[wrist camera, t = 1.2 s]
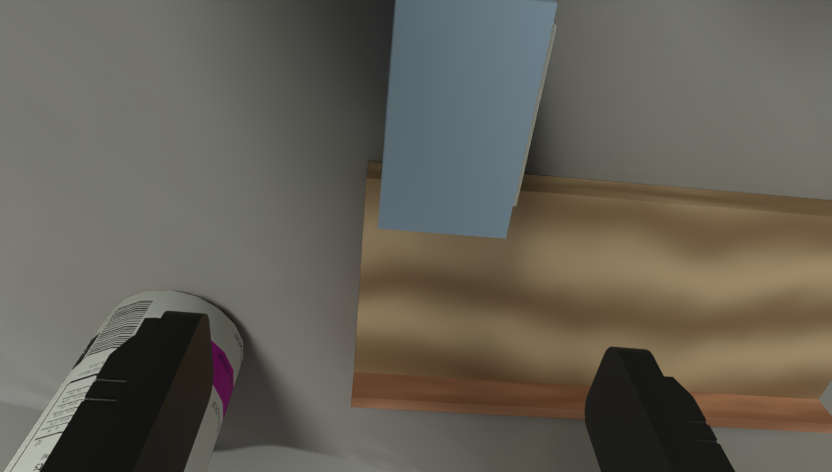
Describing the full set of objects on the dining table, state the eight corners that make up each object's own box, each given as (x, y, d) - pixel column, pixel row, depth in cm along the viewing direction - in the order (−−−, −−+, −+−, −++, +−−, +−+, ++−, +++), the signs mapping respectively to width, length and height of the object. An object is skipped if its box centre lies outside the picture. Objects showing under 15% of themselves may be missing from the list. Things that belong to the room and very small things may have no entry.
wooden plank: (368, 160, 30) (364, 197, 26) (908, 207, 32) (968, 246, 29) (355, 360, 37) (350, 409, 34) (793, 387, 39) (830, 435, 36)
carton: (399, -53, 25) (397, -15, 16) (513, -39, 25) (571, 4, 16) (385, 124, 29) (377, 228, 20) (483, 133, 29) (516, 239, 21)
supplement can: (273, 339, 36) (203, 590, 23) (191, 399, 39) (88, 654, 26) (165, 258, 33) (16, 502, 20) (84, 331, 35) (-94, 586, 23)
